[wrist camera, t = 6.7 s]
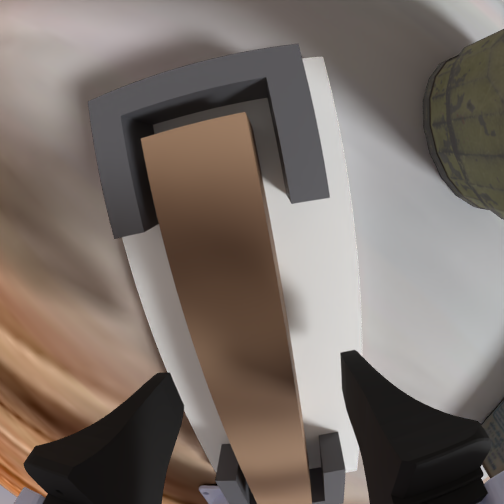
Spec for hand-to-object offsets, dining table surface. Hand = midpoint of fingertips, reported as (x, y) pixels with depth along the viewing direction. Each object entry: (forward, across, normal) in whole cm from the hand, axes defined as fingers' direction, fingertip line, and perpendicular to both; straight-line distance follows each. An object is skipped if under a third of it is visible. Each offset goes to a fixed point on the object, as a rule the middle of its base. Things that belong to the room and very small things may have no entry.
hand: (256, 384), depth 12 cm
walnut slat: (+2, 0, 0) cm, 2 cm away
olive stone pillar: (+4, -14, -9) cm, 17 cm away
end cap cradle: (+4, 0, 0) cm, 4 cm away
